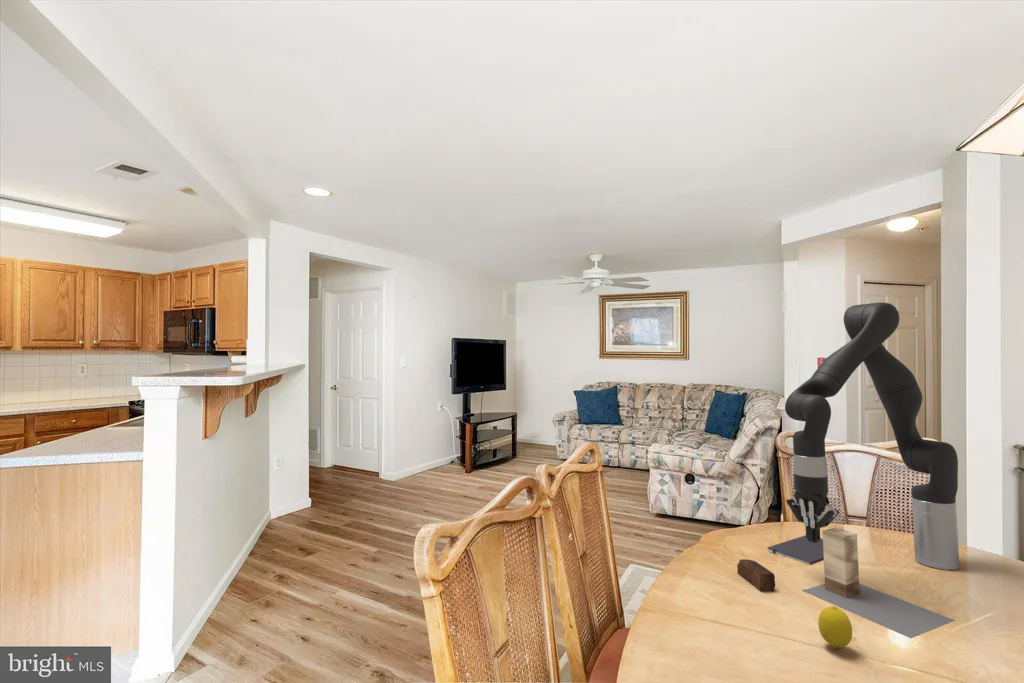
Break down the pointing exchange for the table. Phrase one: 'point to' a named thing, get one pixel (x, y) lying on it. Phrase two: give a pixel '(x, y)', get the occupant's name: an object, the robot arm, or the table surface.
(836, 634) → the lemon
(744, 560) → the brick
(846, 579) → the tall block
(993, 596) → the table surface
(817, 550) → the notebook
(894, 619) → the rubber mat
